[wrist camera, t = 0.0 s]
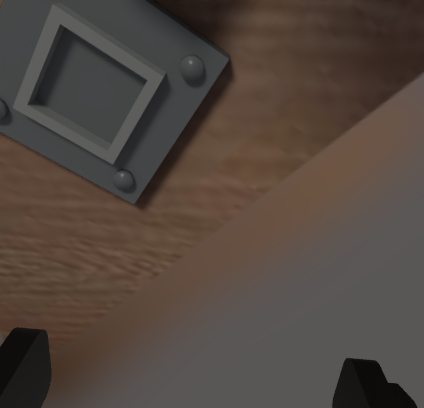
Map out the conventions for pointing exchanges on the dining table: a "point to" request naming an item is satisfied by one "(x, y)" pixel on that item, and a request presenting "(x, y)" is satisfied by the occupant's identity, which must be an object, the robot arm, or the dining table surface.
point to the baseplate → (101, 84)
